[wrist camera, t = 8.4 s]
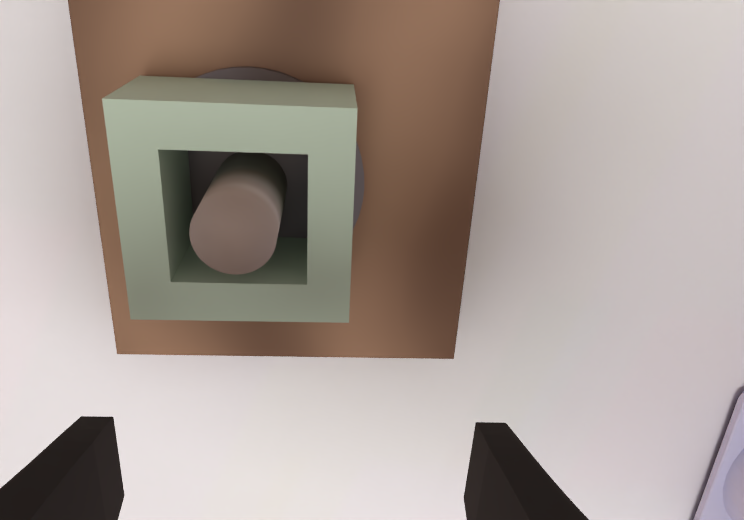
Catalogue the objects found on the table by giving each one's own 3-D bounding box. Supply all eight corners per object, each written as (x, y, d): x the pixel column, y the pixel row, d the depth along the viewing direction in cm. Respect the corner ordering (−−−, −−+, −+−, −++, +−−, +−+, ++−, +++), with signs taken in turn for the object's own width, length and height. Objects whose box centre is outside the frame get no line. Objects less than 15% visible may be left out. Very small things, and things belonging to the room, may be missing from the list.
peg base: (491, -36, 18) (552, -33, 13) (446, 334, 23) (477, 440, 18) (81, -60, 17) (-25, -67, 12) (130, 329, 22) (71, 438, 17)
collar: (353, 84, 17) (357, 108, 14) (346, 271, 19) (349, 322, 17) (139, 75, 17) (102, 98, 14) (159, 268, 19) (130, 319, 16)
